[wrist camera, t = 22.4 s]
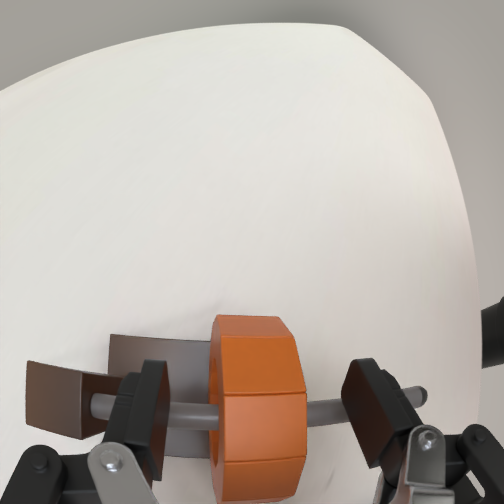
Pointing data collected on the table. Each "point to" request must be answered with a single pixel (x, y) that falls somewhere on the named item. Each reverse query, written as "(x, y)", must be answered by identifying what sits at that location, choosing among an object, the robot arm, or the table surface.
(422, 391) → the hook stand
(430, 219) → the table surface
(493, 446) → the robot arm
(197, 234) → the table surface
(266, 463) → the tape roll
